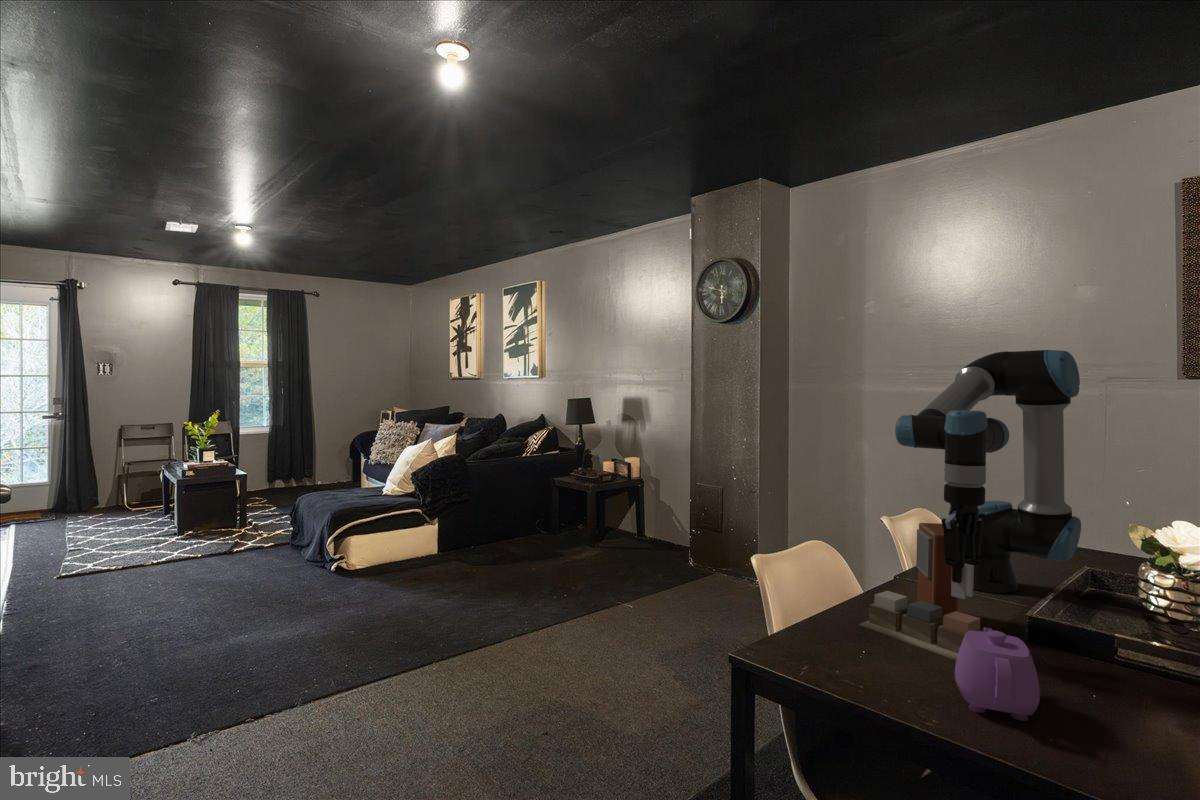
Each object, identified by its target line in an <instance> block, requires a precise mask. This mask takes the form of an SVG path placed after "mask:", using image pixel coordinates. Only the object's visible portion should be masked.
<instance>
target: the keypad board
mask: <svg viewBox="0 0 1200 800" xmlns="http://www.w3.org/2000/svg"><path fill="white" fill-rule="evenodd" d="M858 625H859V627H862V628H865V629H868V630H870V629H871V631H873V630H874V631H873V632H877V633H879V634H881V633H882V634H881V635H885V636H887V637H890V638H893V639H895V640H898V641H901V642H904V643H907V644H910V645H912V646H915V647H918V648H922V649H924V650H926V651H929V652H933V653H934V654H936V655H937V654H938V655H941V656H943V657H946V658H948V659H951V660H955V661H956V660H957V656H958V652H959V649H960V646H961V644H962V641H963V638H964V636H965V635H963V634H960V633H957V632H954V631H951V630H948V629H945V628H943V617H942V619H941V620H938V621H936V622H933V623H930V624H929V623H926V622H923V621H920V620H917V619H914V618H911V617H908V616H907V609H904V610H901V611H898V612H892V611H889V610H886V609H883V608H880V607H877V606H874V603H871V604H868V620H867V621H864V622H860V623H859V624H858ZM980 631H981V632H984V628H983V629H982V628H980Z"/></svg>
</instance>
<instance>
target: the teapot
mask: <svg viewBox="0 0 1200 800" xmlns="http://www.w3.org/2000/svg"><path fill="white" fill-rule="evenodd" d="M983 630H984V632H981V631H968V632H966V634H965V636H964V638H963V641H962V644H961V646H960V649H959V652H958V656H957V660H955V666H954V667H955V668H954V679H955V683H956V685H957V688H958V690H959V691H960V692H959V693H960V694H961V696H962V698H963V699H964V700H965V701H966V703H967V704H969V705H968V710H970V711H973V712H975V713H979V714H983V713H985V712H986V710H991V711H997V712H1002V713H1008V714H1010V715H1009V716H1010V717H1011V718H1013V719H1015V720H1017V721H1022V722H1028V720H1029V717H1028V716H1032V715H1033V714H1035V712H1036V711H1037V709H1038V707H1039V705H1040V700H1041V699H1040V698H1041V696H1040V694H1041V692H1040V691H1041V690H1040V684H1039V683H1040V682H1039V677H1038V672H1037V668H1036V665H1035V662H1034V660H1033V656H1032V654H1031V651H1030V649H1029V647H1028V646H1027V645H1026V644H1025V642H1024V641H1023V640H1022V639H1020V638H1019V637H1017V636H1012V635H1007V634H1006V633H1004V632H1002V631H999V630H993V629H992V628H990V627H983Z"/></svg>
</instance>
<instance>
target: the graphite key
mask: <svg viewBox="0 0 1200 800" xmlns="http://www.w3.org/2000/svg"><path fill="white" fill-rule="evenodd" d="M907 616H908V617H911V618H914V619H917V620H920V621H923V622H926V623H929V624H930V623H933V622H936V621H938V620H941V619H942V607H940V606H937V605H934V604H930V603H927V602H924V601H918V600H917V601H914V602H911V603H909V604H908V603H907Z"/></svg>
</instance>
